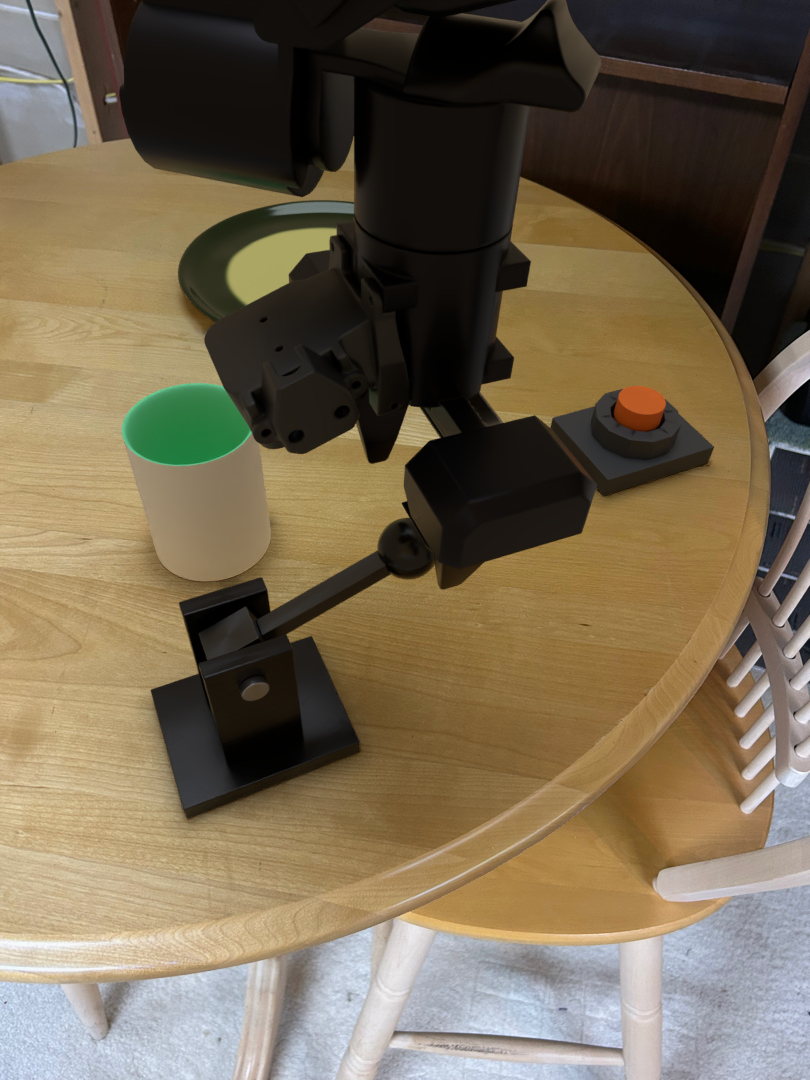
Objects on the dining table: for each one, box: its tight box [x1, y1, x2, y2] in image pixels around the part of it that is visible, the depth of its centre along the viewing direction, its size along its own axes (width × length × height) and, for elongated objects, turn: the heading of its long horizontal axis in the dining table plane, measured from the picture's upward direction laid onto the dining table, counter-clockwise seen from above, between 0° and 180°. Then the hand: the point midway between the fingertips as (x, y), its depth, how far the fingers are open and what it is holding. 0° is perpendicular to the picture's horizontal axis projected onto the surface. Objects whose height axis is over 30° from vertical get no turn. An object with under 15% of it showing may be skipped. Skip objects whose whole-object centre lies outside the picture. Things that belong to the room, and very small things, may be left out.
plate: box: [177, 199, 354, 323], centre depth 80 cm, size 28×28×2 cm
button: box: [614, 385, 666, 432], centre depth 62 cm, size 4×4×2 cm
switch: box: [150, 576, 361, 820], centre depth 43 cm, size 10×8×10 cm
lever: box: [199, 517, 435, 660], centre depth 41 cm, size 13×3×3 cm, turn 114°
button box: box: [549, 388, 715, 497], centre depth 64 cm, size 8×10×4 cm
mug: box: [121, 382, 272, 582], centre depth 54 cm, size 12×8×10 cm
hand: (410, 518), depth 40 cm, fingers open, 9 cm apart
